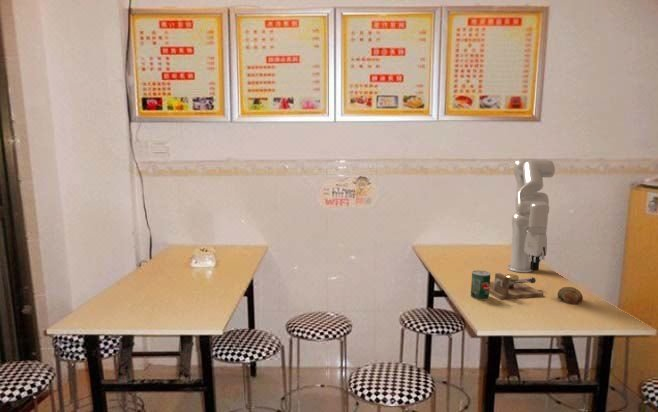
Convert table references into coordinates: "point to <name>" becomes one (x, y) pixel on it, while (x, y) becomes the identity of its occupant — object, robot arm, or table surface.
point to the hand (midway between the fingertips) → (534, 269)
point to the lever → (518, 280)
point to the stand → (503, 291)
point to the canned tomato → (480, 285)
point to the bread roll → (570, 295)
